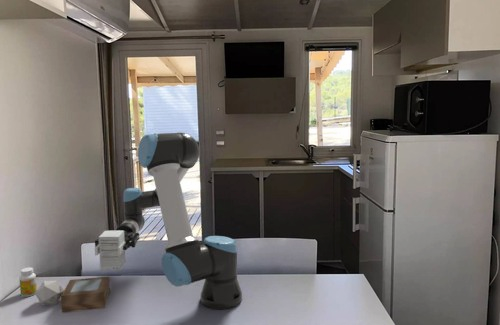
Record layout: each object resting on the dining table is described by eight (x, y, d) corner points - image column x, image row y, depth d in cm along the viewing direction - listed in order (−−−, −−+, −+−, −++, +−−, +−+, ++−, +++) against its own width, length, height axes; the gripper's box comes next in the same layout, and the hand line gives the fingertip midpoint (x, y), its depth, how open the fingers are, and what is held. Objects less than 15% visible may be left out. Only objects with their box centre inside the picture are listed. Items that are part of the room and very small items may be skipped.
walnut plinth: (110, 291, 149) (109, 276, 148) (104, 308, 137) (103, 291, 136) (71, 294, 146) (70, 279, 146) (62, 312, 134) (60, 295, 133)
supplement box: (106, 262, 147) (104, 230, 145) (126, 262, 147) (124, 230, 145) (99, 270, 140) (97, 236, 138) (120, 270, 140) (118, 236, 138)
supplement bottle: (17, 296, 146) (15, 271, 144) (28, 289, 151) (26, 266, 150) (29, 297, 144) (27, 273, 143) (40, 291, 150) (38, 267, 148)
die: (45, 312, 135) (62, 288, 137) (25, 299, 136) (42, 274, 138) (56, 309, 143) (72, 286, 145) (37, 296, 144) (53, 273, 146)
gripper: (152, 239, 161) (136, 261, 138) (102, 240, 161) (79, 261, 138) (151, 222, 160) (135, 241, 137) (101, 222, 159) (78, 241, 137)
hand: (107, 251), depth 138 cm, fingers closed on supplement box, 7 cm apart
